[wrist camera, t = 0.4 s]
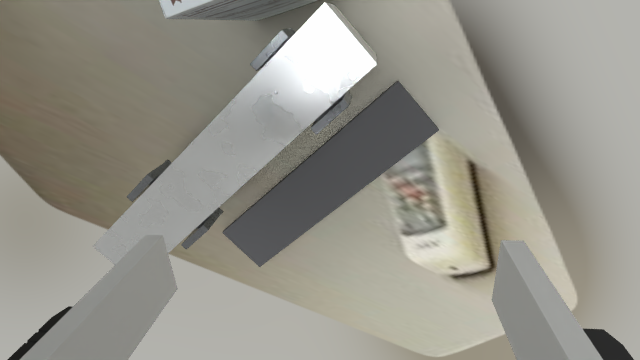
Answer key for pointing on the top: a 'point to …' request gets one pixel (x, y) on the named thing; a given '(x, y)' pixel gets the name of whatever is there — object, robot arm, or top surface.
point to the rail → (247, 132)
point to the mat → (333, 174)
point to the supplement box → (228, 8)
